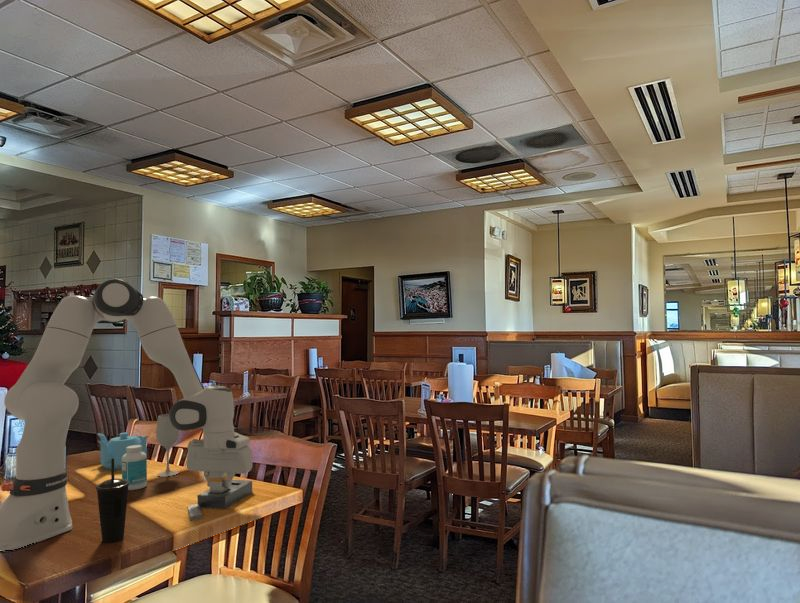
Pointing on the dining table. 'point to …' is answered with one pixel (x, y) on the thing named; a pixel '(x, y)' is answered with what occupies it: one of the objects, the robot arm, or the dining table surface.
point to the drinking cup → (112, 507)
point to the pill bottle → (134, 467)
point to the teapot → (118, 448)
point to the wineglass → (166, 439)
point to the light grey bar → (194, 512)
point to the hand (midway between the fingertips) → (219, 486)
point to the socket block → (225, 495)
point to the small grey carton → (218, 482)
